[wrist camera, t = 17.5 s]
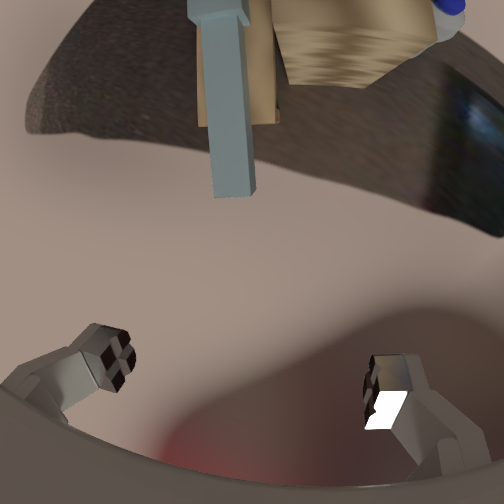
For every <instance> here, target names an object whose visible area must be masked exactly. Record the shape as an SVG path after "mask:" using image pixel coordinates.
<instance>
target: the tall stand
mask: <svg viewBox="0 0 504 504" xmlns="http://www.w3.org/2000/svg"><path fill="white" fill-rule="evenodd" d="M271 4H272V23H273V26H274V29H275V33H276V36H277V40H278V43H279V47H280V51H281V54H282V58H283V62H284V65H285V69H286V73H287V77H288V81H289V84H303V85H329V86H344V87H356V88H366V87H367V86H369V85H370V84H371V83H373V82H374V81H376V80H377V79H379V78H380V77H382V76H383V75H385V74H386V73H388V72H389V71H391V70H392V69H394V68H395V67H397V66H398V65H400V64H401V63H403V62H404V61H406V60H407V59H409V58H411V57H412V56H414V55H415V54H417V53H418V52H420V51H422V50H423V49H425V48H426V47H428V46H430V45H431V44H433V43H434V42H436V41H438V38H437V31H436V24H435V18H434V13H433V7H432V2H431V0H271Z"/></svg>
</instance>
